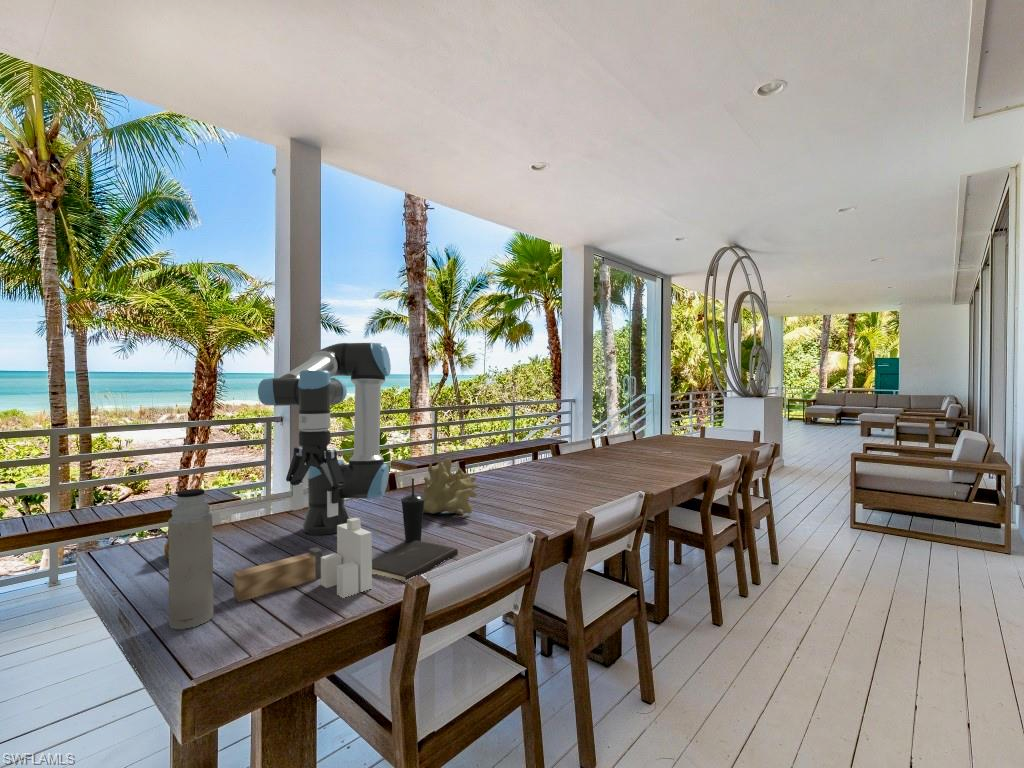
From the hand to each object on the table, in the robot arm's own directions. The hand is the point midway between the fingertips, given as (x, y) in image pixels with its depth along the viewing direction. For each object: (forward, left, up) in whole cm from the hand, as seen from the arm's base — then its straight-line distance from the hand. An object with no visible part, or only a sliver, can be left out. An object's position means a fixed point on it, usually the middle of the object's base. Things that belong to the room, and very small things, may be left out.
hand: (314, 512), depth 127 cm
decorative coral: (-25, +63, -18) cm, 70 cm away
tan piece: (-3, -9, -18) cm, 20 cm away
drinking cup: (-8, +35, -18) cm, 40 cm away
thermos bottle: (+1, -28, -18) cm, 33 cm away
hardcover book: (+7, +24, -18) cm, 31 cm away
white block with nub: (+9, +3, -18) cm, 20 cm away
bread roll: (-45, -19, -18) cm, 52 cm away
